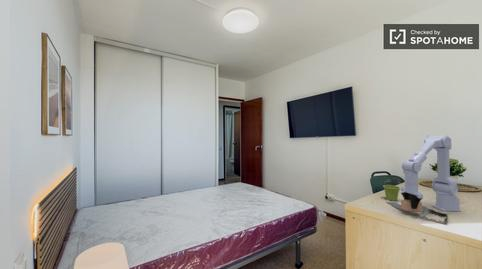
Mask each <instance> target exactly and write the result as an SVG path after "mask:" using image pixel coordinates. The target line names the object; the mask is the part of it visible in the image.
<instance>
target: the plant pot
mask: <svg viewBox="0 0 482 269" xmlns="http://www.w3.org/2000/svg"><path fill="white" fill-rule="evenodd" d="M382 186H383V190H384V195H385V199H386V200H388V201H391V202H396V201H398V198H399V192H400V191H401V187H400V186H397V185H391V184H385V185H382Z"/></svg>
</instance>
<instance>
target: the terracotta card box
mask: <svg viewBox="0 0 482 269" xmlns="http://www.w3.org/2000/svg"><path fill="white" fill-rule="evenodd" d="M400 202H401V208H402V209H403V210H405V211H404V212H415V211H420V212H419V213H423V212H422V206H423V202H422V201H420V202H419V204H418V207H417V209H412V207H411V201H410V200H404V199H402V198H401V199H400Z"/></svg>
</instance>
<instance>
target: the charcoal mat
mask: <svg viewBox="0 0 482 269" xmlns="http://www.w3.org/2000/svg"><path fill="white" fill-rule="evenodd" d="M386 204H388V205H389V206H391V207H393V208H395V209H396V210H398V211H400V212H406V211H405V210H403V209H402V208H401V201H400V202H399V201H398V202H396V201H386ZM428 209H430V208H429V207H426V206H424V205H422V212H420V211H414V212H419V213H423V212H425V211H427V210H428Z"/></svg>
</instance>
